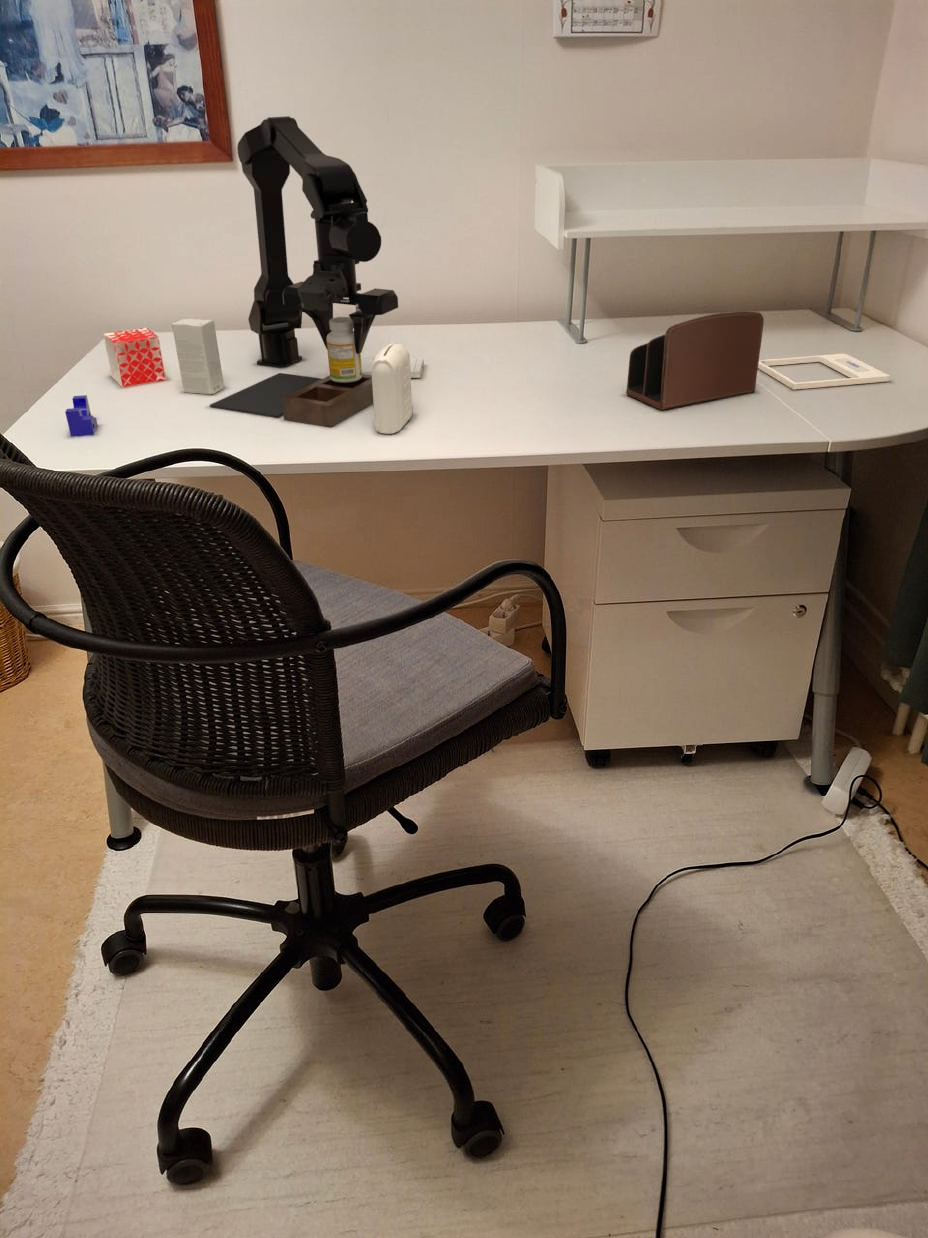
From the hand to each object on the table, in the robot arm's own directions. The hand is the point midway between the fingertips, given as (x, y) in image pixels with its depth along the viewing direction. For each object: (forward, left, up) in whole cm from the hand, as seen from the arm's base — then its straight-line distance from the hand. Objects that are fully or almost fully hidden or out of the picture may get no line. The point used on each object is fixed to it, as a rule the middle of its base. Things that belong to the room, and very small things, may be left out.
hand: (344, 351), depth 159 cm
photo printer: (+13, -7, -9) cm, 17 cm away
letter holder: (+52, +26, -9) cm, 59 cm away
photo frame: (+70, +46, -8) cm, 84 cm away
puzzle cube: (-43, -4, -9) cm, 44 cm away
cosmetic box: (-27, -5, -9) cm, 29 cm away
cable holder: (-32, -28, -9) cm, 43 cm away
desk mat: (-13, -2, -8) cm, 16 cm away
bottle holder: (0, -4, -8) cm, 9 cm away
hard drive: (-2, +17, -9) cm, 19 cm away
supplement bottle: (0, 0, -5) cm, 5 cm away
